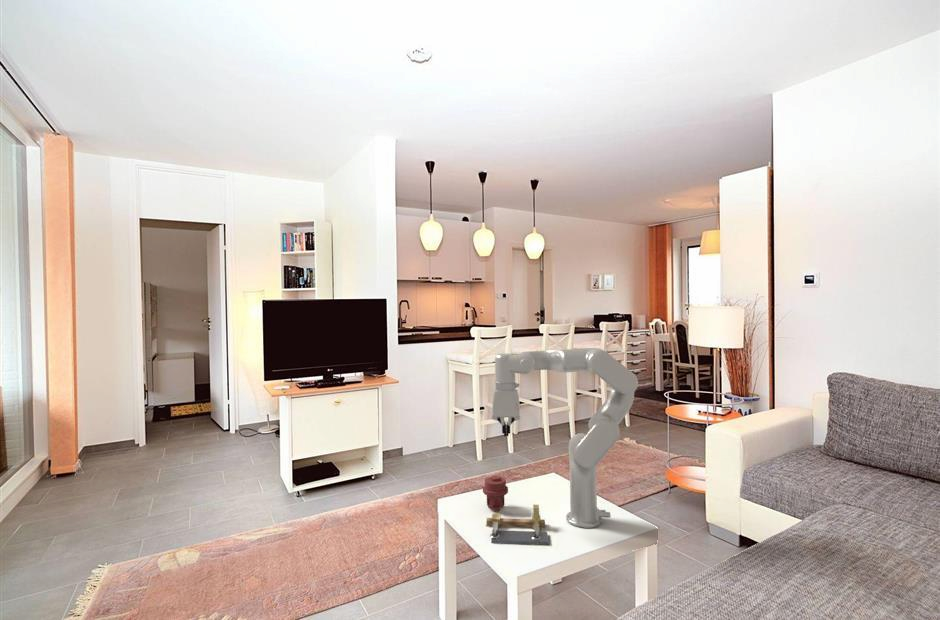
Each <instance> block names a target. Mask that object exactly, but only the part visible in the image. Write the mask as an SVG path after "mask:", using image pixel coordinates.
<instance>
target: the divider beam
mask: <svg viewBox="0 0 940 620" xmlns="http://www.w3.org/2000/svg"><path fill="white" fill-rule="evenodd" d="M501 516H502V515H501V513H497V512H496V513H495V512H494V513H492V515H491V517H486V524H485V525H486V527H491V528H492V530H493V535H495V536H496V533H497V530H499V529H498V528H501V527H502V528H522V529H523V528H524V529H526V528H527V529H529V528H531V529H532V518H530V519H529V518H507V517H506V518H503V517H501ZM545 521H546V519H541V529H546V522H545Z"/></svg>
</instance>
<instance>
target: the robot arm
mask: <svg viewBox="0 0 940 620" xmlns="http://www.w3.org/2000/svg"><path fill="white" fill-rule="evenodd" d="M494 368H495V369H494V373H495V378H494V379H495V381H494V382H495V389H493V392H492V393H493V394H492V404H491V406H492V408H491V409H492V410H491V412H492V413H491V414H492V416H491V420H493V421H497V422H498V423H499V424H500V425H501V428H502V429H501V430H502V431H501V434H503V437H506V436H507V437H509V435H510V434H511V425H513V423H514V422H515V421H520V420H521V415H520V410H521V409H520V397H519V391H518V389H517V388H520V383H517V382H516V374H521V375H529V374H531V373H532V372H534V371H541V370H542V371H545V370H546V371H554V372H558V373H579V372H583V373H584V372H593V373H594V374H595V375H596V376H597V377H599V378H600V379H601V380H602V381H603V382H605V384H608V385H609V386H610V393H609V395H608V397H607V398H606V400H605V401H604V403H603V404H602V405H601V406H600V407H599V408H598V410H597V411H596V412H595V413H594V414H593V415H592V416H591V417H590V419H589V421H588V423H587V424H588V425H587V426H588V429H589V430H588V431H587V433H583V432H580V433H576V434H574V435H573V436H572V437H571V438H570V440H569V441H568V442H569V443H568V457H569V458H568V459H569V460H568V462H569V491H570V492H569V494H570V495H569V497H570V498H569V499H570V500H569V501H570V504H569V505H570V511H569V512H567V514H566V516H565V517H566V518H565V519H566V521H567V522H568V523H569V524H570V525H572V526H575V527H578V528H584V529H585V528H586V529H592V528H596V527H598V526H600V525H601V524H602V518H607V519H608V518H609V519H610V518H612V517H611V516H612V515H611V512H610V511H606V510H607V509H599V508H598V502H597V501H598V500H597V499H598V497H597V496H598V493H597V466H598V464H599V463H600V462H601V461H602V460H603V459H604V457H605V456H607V454H608V453H609V452H610V450H611V449H612V448H613V447H614V445H616V443H617V441H618V440H619V437H620V427H619V424H620V423H621V422H622V421H623V420H624V418H625V417H626V416H627V414H628V413H629V411H630V410H631V408H632V406H633V403H634V401H635V400H634V399H635V391H636V390H637V389H638V386H639V380H638V377H637V376H636V374H635V373H634V372H632V371H631V370H630V369H629V368H628V367H626V366H625V365H624V364H623V363H621V362H619V360H617V359H616V358H615V357H613V356H612V354H610V353H609V352H608V351H606V350H604V349H602V348H599V347H586V348H570V349H568V348H566V349H553V350H534V351H532V350H531V351H530V350H529V351H522V352H520V353H519V354H512V353H498V354H496V355H495V357H494ZM505 418H507V422H505Z"/></svg>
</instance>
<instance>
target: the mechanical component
mask: <svg viewBox="0 0 940 620" xmlns="http://www.w3.org/2000/svg"><path fill="white" fill-rule="evenodd" d="M506 482H507V480H506V478H504V477H502V476H499V475H491V476H488V477H486V478H484V485H483V487H482V492H483V494H484V495H485V496H486V506H487V508H488V509H491V510H493V512H494V513H495V512H496V513H497V512H499V511H500V509H502V508H504V506H505V496H506V495H507V494H508V493H509V487H508V485H507V483H506Z"/></svg>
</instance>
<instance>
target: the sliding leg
mask: <svg viewBox="0 0 940 620" xmlns="http://www.w3.org/2000/svg"><path fill="white" fill-rule="evenodd" d="M532 508H533V509H532V510H533V511H532V513H533V514H531V519H532V528H531V529H532V530H533V529H534V532H535V534H536V537H539V532H540V530H541V529H542V528H541V520H542V519H541V514H540V505H539V504H533V505H532Z"/></svg>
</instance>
